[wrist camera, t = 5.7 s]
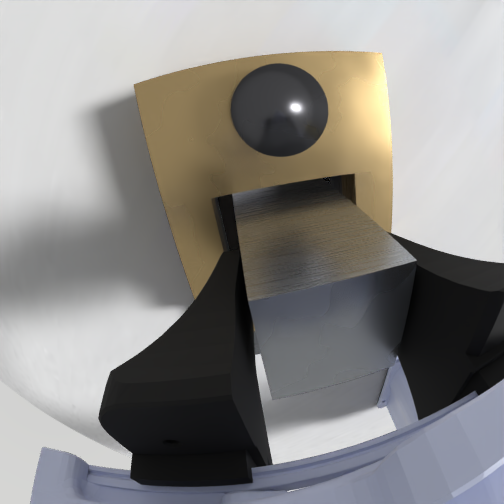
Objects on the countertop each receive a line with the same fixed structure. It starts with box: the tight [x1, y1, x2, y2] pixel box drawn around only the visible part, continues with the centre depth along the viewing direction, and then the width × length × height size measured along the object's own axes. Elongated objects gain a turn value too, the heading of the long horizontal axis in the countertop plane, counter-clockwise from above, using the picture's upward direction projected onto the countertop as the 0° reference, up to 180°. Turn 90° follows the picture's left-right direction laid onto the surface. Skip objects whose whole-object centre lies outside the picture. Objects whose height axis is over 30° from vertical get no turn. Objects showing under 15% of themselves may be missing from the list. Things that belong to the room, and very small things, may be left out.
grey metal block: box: [232, 178, 417, 400], centre depth 10 cm, size 4×4×8 cm
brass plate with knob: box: [134, 51, 393, 355], centre depth 12 cm, size 15×9×4 cm, turn 10°
